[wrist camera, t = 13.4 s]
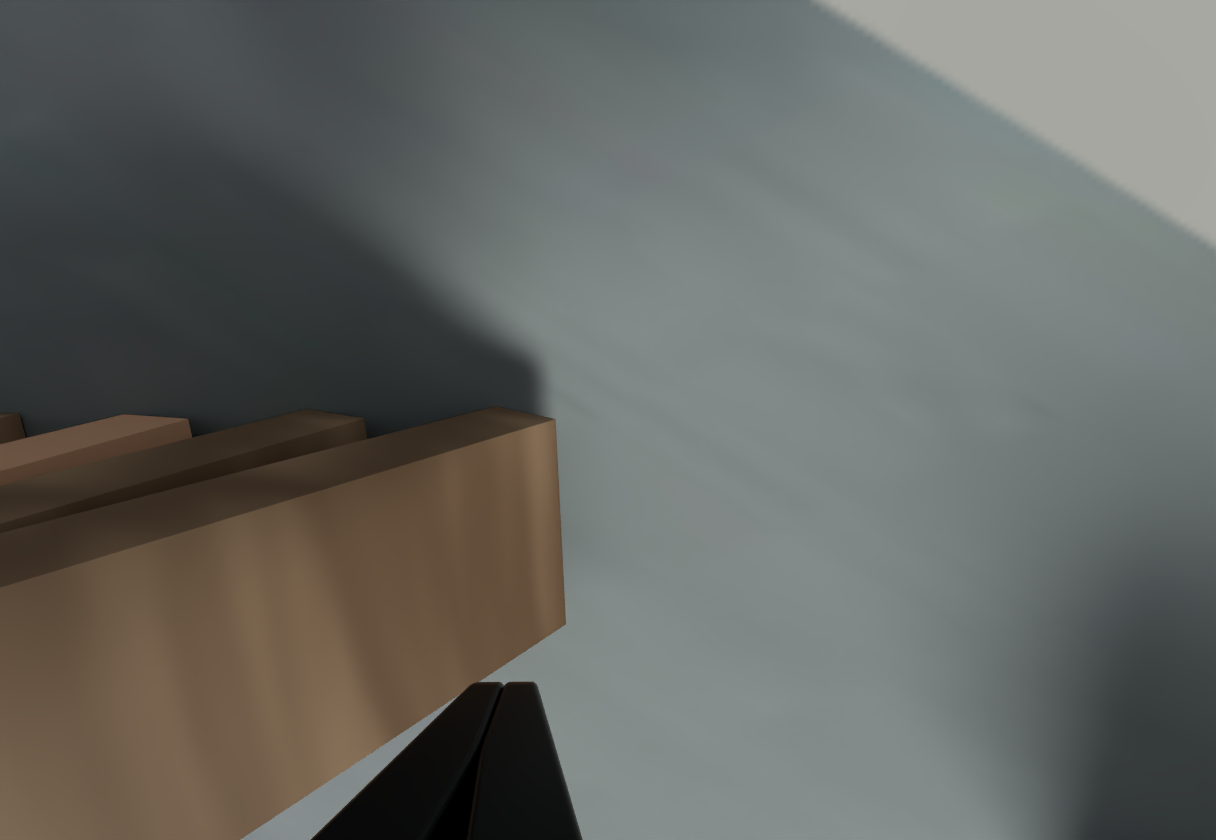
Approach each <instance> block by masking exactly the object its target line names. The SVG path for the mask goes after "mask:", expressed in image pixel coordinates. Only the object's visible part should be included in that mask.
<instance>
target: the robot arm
mask: <svg viewBox="0 0 1216 840" xmlns="http://www.w3.org/2000/svg"><path fill="white" fill-rule="evenodd" d="M311 840H582V836H581V833H580V829H579V826H578V823H577V819H576V816H575V812H574V809H573V805H572V802H571V799H570V795H569V792H568V788H567V785H566V782H565V778H564V775H563V771H562V768H561V765H560V761H559V758H558V754H557V751H556V748H555V744H554V741H553V737H552V734H551V730H550V727H549V724H548V720H547V717H546V713H545V710H544V707H543V703H542V700H541V696H540V693H539V690H538V686H537V684H536V683H534V682H508V683H507V684H505V686H504V685H503V684H502V683H501V682H476V683H473V684H471V685H470V686H468V687H467V688H466V689H465V690H464V691H463V692H462V693H461V694H460V695H459V696H458V697H457V698H456V699H455V700H454V701H453V702H452V703H451V704H450V705H449V706H448V707H447V708H446V709H445V710H444V711H443V712H442V713H441V714H440V715H439V716H437V717H436V718H435V719H434V720H433V721H432V722H431V723H430V724H429V725H428V726H427V727H426V728H425V729H424V730H423V731H422V732H421V733H420V734H419V735H418V736H417V737H416V738H415V739H414V740H413V741H412V742H411V743H410V744H409V745H408V746H407V747H406V748H405V749H404V750H403V751H401V752H400V753H399V754H398V755H397V756H396V757H395V758H394V759H393V760H392V761H391V762H390V763H389V764H388V765H387V766H386V767H385V768H384V769H383V770H382V771H381V772H380V773H379V774H378V775H377V776H376V777H375V778H374V779H373V780H372V781H371V782H370V783H369V784H368V785H366V786H365V787H364V788H363V789H362V790H361V791H360V792H359V793H358V794H357V795H356V796H355V797H354V798H353V799H352V800H351V801H350V802H349V803H348V804H347V805H346V806H345V807H344V808H343V809H342V810H341V811H340V812H339V813H338V814H337V815H336V816H335V817H334V818H333V819H332V820H330V821H329V822H328V823H327V824H326V825H325V826H324V827H323V828H322V829H321V830H320V831H319V832H318V833H317V834H316V835H315V836H314V837H313V838H312V839H311Z"/></svg>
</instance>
